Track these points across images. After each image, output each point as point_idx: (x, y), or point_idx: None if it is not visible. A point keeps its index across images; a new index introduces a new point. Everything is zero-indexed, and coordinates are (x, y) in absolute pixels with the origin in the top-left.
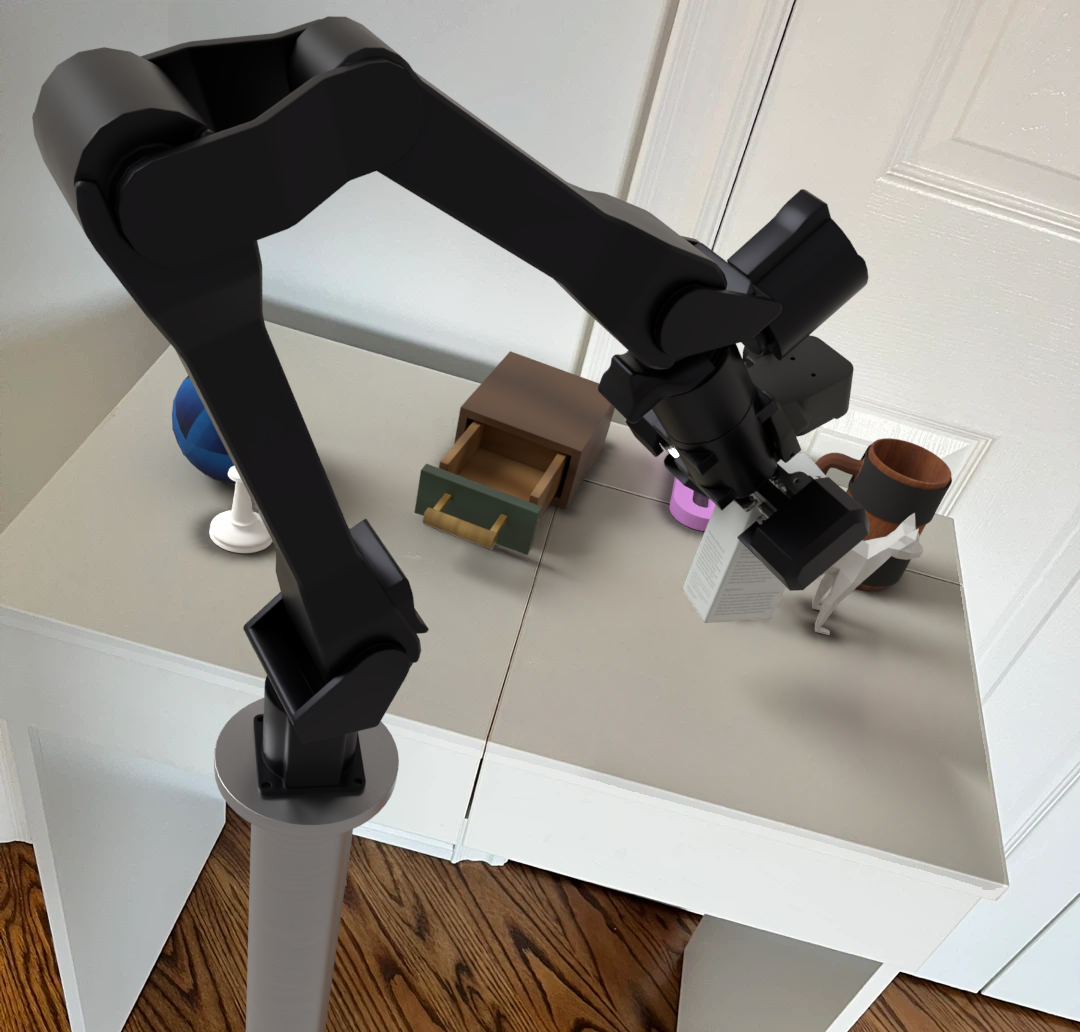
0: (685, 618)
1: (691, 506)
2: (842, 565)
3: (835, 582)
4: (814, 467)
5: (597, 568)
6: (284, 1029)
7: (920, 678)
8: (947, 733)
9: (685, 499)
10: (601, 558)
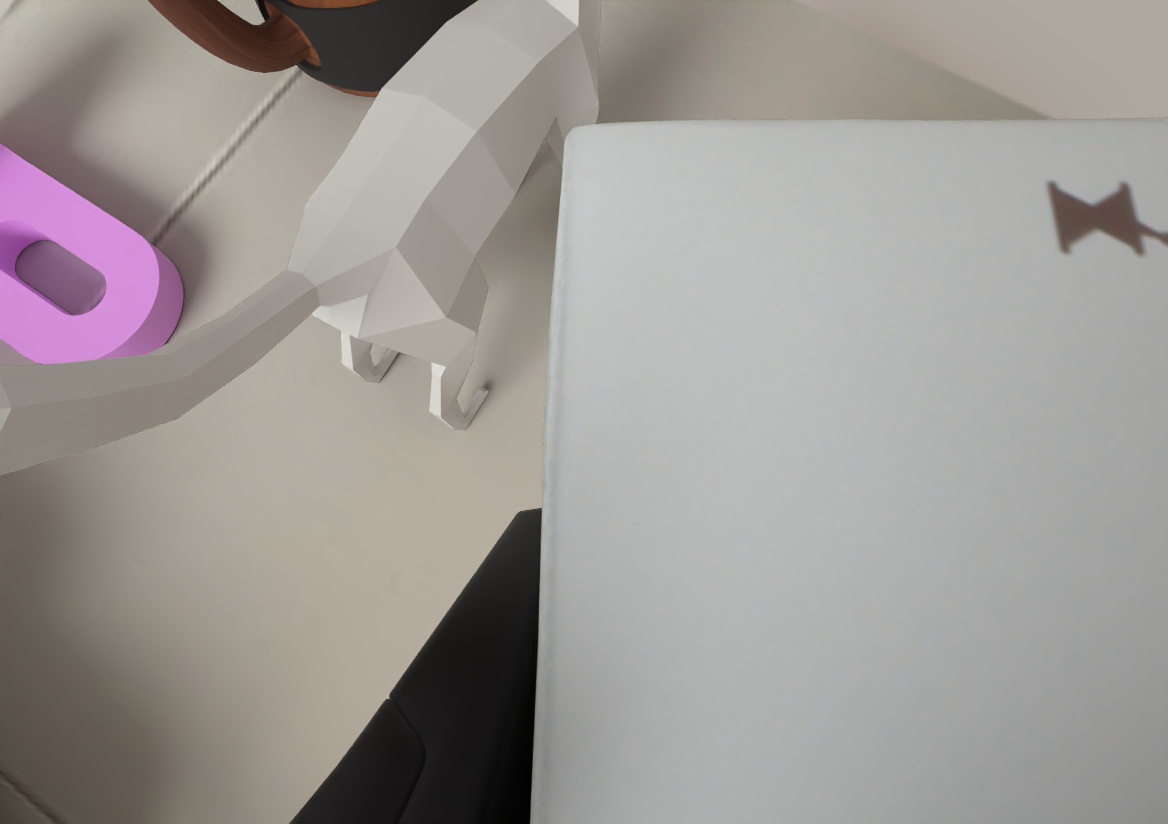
0: (481, 550)
1: (89, 331)
2: (554, 105)
3: None
4: (880, 170)
5: (236, 723)
6: None
7: (758, 78)
8: (925, 113)
9: (56, 333)
10: (200, 688)
